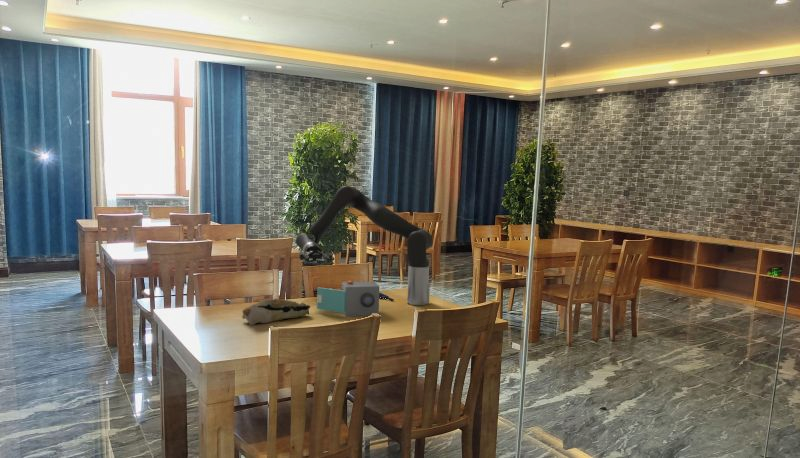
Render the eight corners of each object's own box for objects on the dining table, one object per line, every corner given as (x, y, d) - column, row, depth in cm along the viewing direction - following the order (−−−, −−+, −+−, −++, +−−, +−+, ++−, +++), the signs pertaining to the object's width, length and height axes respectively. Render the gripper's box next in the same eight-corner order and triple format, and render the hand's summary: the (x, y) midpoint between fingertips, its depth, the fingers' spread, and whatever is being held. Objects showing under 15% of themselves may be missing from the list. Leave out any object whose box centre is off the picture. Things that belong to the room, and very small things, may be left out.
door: (318, 308, 229) (318, 287, 228) (344, 312, 224) (345, 290, 223) (315, 309, 228) (316, 287, 227) (342, 313, 222) (343, 291, 221)
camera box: (373, 308, 237) (374, 279, 236) (379, 315, 226) (380, 284, 225) (341, 309, 234) (341, 279, 232) (345, 317, 222) (346, 285, 221)
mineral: (304, 292, 227) (316, 301, 219) (301, 313, 229) (312, 322, 221) (243, 295, 210) (253, 305, 203) (240, 318, 212) (249, 328, 204)
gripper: (297, 242, 250) (302, 251, 235) (328, 243, 254) (335, 252, 239) (295, 258, 251) (301, 268, 236) (326, 259, 256) (333, 269, 241)
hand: (318, 260), depth 238 cm, fingers open, 8 cm apart
